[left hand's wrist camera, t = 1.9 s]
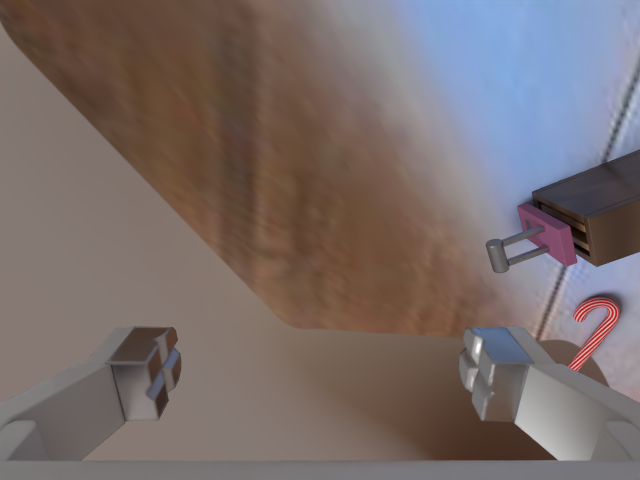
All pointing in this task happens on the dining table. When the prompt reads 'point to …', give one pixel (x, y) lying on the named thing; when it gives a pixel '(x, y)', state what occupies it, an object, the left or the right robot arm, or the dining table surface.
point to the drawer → (541, 237)
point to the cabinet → (601, 207)
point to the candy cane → (600, 331)
